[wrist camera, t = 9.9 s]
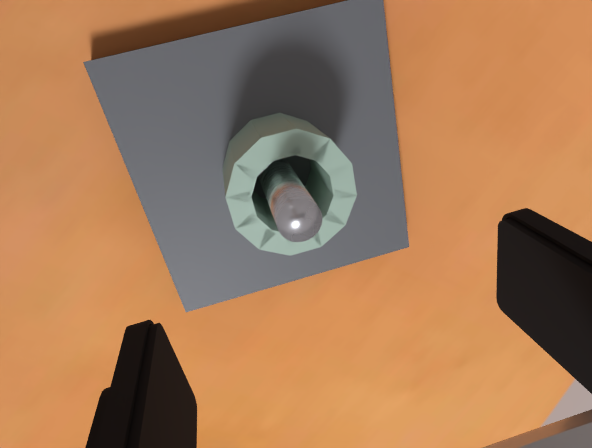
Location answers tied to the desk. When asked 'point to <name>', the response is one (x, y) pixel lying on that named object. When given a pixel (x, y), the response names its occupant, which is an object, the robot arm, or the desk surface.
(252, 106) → the board
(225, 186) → the bead
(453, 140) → the desk surface
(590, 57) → the desk surface
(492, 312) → the desk surface
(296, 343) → the desk surface
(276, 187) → the rod
